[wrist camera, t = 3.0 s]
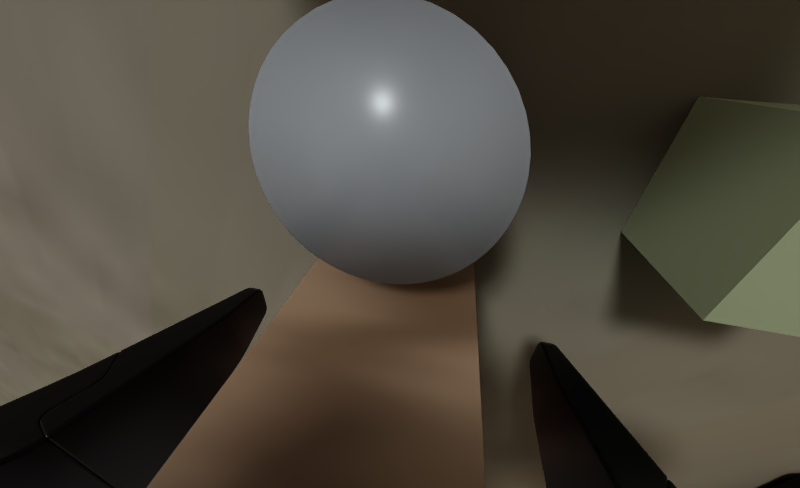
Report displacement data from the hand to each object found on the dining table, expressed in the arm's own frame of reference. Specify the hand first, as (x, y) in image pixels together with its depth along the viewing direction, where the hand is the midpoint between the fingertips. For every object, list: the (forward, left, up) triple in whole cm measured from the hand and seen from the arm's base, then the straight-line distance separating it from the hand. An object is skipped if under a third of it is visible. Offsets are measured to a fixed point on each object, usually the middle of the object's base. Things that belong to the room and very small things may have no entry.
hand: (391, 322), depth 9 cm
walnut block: (0, 0, -2) cm, 2 cm away
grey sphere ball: (0, -6, -2) cm, 6 cm away
